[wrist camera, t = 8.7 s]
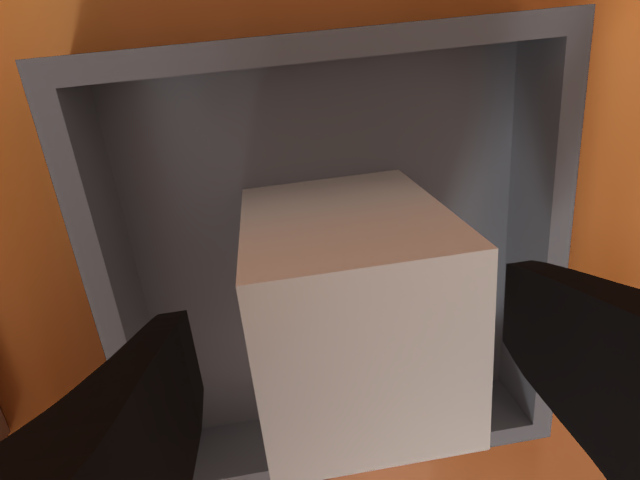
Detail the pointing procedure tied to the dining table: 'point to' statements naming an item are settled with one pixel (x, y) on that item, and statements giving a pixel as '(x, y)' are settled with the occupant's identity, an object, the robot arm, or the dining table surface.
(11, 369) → the dining table surface
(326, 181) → the block
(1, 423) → the stud block
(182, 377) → the robot arm
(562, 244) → the bin
